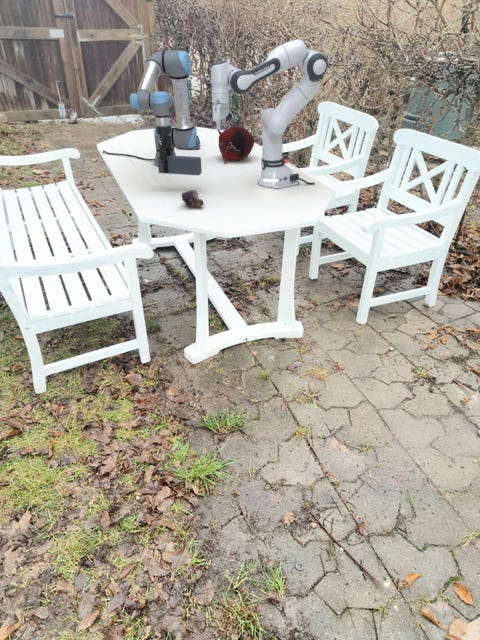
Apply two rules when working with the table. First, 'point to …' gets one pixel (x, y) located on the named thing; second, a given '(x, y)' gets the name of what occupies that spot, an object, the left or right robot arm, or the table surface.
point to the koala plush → (197, 144)
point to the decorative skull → (235, 143)
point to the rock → (192, 198)
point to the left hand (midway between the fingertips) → (167, 171)
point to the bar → (181, 165)
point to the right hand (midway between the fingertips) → (221, 127)
